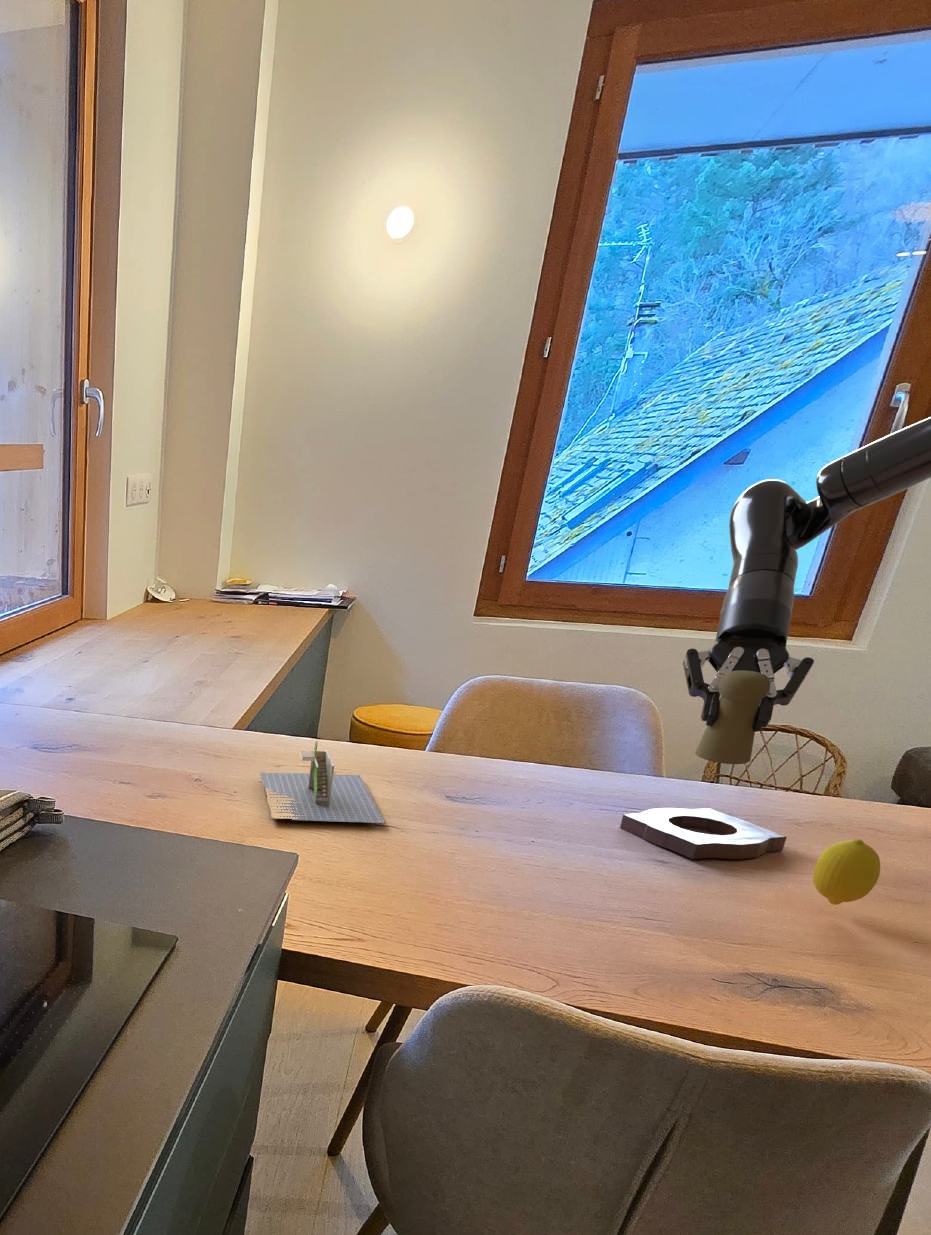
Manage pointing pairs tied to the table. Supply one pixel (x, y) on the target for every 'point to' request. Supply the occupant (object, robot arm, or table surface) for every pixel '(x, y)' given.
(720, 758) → the cork
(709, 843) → the holder
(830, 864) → the lemon
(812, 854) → the table surface
